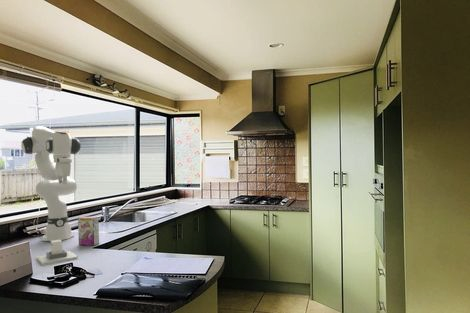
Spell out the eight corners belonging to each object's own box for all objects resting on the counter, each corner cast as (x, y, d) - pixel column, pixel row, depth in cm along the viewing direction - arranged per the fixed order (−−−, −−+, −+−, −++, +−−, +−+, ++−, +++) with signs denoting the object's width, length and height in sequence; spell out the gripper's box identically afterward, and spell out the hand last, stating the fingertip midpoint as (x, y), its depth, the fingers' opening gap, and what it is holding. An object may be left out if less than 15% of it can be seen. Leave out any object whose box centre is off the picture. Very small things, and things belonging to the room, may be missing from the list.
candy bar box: (78, 245, 211) (77, 217, 211) (83, 243, 216) (83, 216, 216) (94, 245, 208) (93, 218, 208) (99, 243, 213) (98, 216, 213)
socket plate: (36, 258, 183) (36, 252, 183) (69, 252, 193) (69, 247, 193) (42, 265, 171) (42, 258, 171) (77, 258, 180) (77, 252, 181)
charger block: (50, 256, 182) (50, 241, 182) (60, 254, 185) (60, 239, 185) (52, 258, 179) (52, 242, 179) (62, 256, 181) (62, 240, 182)
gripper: (51, 159, 207) (52, 183, 207) (60, 159, 191) (60, 185, 191) (63, 159, 211) (64, 182, 211) (72, 159, 195) (73, 184, 195)
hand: (62, 183), depth 201 cm, fingers open, 8 cm apart
